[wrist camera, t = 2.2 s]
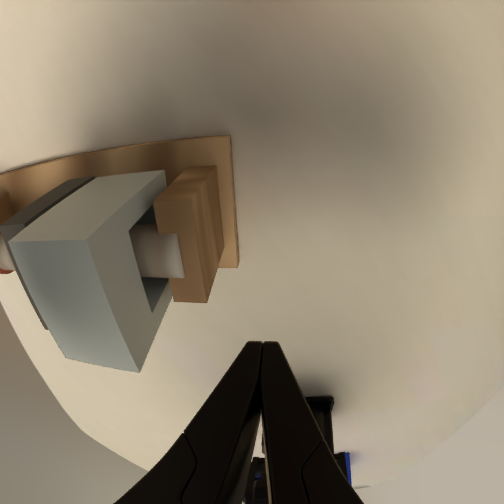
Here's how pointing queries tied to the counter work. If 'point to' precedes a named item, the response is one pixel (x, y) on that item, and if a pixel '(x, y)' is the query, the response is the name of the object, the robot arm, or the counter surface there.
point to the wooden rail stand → (165, 207)
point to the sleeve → (96, 271)
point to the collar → (34, 212)
